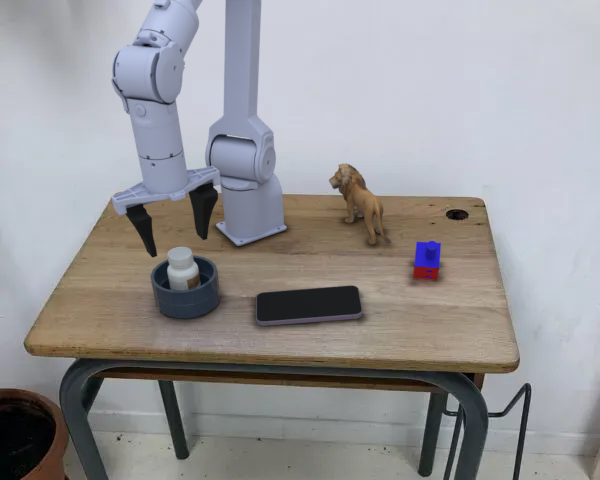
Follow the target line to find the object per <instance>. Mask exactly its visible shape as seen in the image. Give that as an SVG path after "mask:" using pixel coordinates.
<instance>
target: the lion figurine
mask: <svg viewBox="0 0 600 480" xmlns="http://www.w3.org/2000/svg"><path fill="white" fill-rule="evenodd" d="M337 167H338V168H337V171H335V172H334V175H333V176H332V177H330V178H329V179H328V182H329V184H330V185H331V187H332V189H333V190H336V189H338V193H340V194H341V195H342V197H343V200H344V201H345V202H346V210H347V211H346V212H347V214H348V217H346V218H345V219H344V222H345V223H347V224H351V223H353V222H354V220H355V215H354V208H355V207H356V209H357V210H358V211H357V213H356V217H357V218H363V219H364V223H365V226H366V228H367V231H368V233H369V236H370V238H369V239H368V245H370V246H372V245H376V243H377V236H376V233H378V234H380V236H381V238H382V239H383V241H384V243H386V244H388V245H390V244H392V240H391V239H389V237H387V236H386V234H384V229H383V228H384V226H383V218H384V217H383V215H384V204H383V203H382V200H381V198H380V197H379V196H378V195H375V194H373V192H371V191H370V190H369V189H368V187H367V183H366V180H365V179H364V177H363V174H361V173H360V171H359V170H358V169H357V168H356V167H354V166H353V165H351V164H349V163H347V162H346V163H340V164H338V166H337ZM374 217H375V218H376V222H377V227H376V228H375V230H374V225H373V224H374V223H373V221H374Z"/></svg>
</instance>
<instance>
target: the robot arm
mask: <svg viewBox="0 0 600 480" xmlns="http://www.w3.org/2000/svg"><path fill="white" fill-rule="evenodd" d="M203 1H204V0H154V1H153V3H152V5H151V7H150V9H149V11H148V13H147V14H146V16H145V18H144V20H143V22H142V23H141V26H140V28H139V30H138V33H137V34H136V36H135V38H134V39H133V42H132V43H131V44H126V45H124V46H123V47H122V48H121V49H119V50H118V51H116V53H115V55H114V57H113V60H112V66H111V74H112V78H111V79H110V82H111V85H112V88H113V90H114V92H115V93H116V95H117V96H118V97H119V98H120V99H121V102H122V107H123V111H124V112H125V113H126V114H128V115H129V117H130V122H131V127H132V134H133V138H134V143H135V147H136V152H137V158H138V161H139V167H140V172H141V177H142V181H140V182H138V183H136V184H134V185H133V186H131V187H128V188H127V189H125V190H123V191H121V192H117V193H116V194H112V195H110V198H111V202H112V206H113V210H114V211H115V212H116V214H118V216H124V215H125V216H126V218H127V219H128V220H129V221H130V223H131V224H132V225H133V227H134V229H135V230H136V231H137V233H138V234H139V237H140V239H141V240H142V242H143V245H144V247H145V250H146V253H148V254H149V256H150V257H151V258H156V257H158V251H157V246H156V243H155V239H154V231H153V217H151V215H150V214H149V213H148V212H147V211H148V210H147V208H145V206H148V205H150V204H153V203H157V202H160V201H167V200H170V201H171V202H177V201H181V200H183V199H186V198H187V194H188V196H189V200H190V204H191V208H192V213H193V221H194V229H195V231H196V232H195V233H196V235H197V236H198V237H199V238H200V239H201V240H202V241H206V240H208V238H209V237H208V236H209V235H208V234H209V227H210V222H211V217H212V214H213V211H214V208H215V206H216V204H217V202H218V200H219V191H218V190H217V189H216V188H215V187H216V186H219V185H220V192H221V201H222V210H223V217H224V218H223V219H224V220H223V221H220V222H218V223H216V224H215V226H216V228H217V229H218V230H219V231H220V232H221V233H222V234H223V235H224V236H225V237H227V239H228V240H230V241H231V243H233V244H234V245H235V246H236V247H240V246H244V245H247V244H250V243H253V242H256V241H258V240H261V239H263V238H267V237H269V236H270V237H271V236H272V235H276V234H278V233H281V232H284V231H286V230H287V228H288V227H287V225H285V213H284V195H283V189H282V185H281V182H280V180H279V178H278V176H277V175H276V174H275V168H276V163H277V161H276V160H277V155H276V149H275V141H274V140H275V136H274V131H273V130H272V129H271V128H270V127H269V126H268V125H267V124H266V123H265V122H264V121H263V120H262V119H261V118H260V117H259V116H258V100H259V97H258V96H259V75H260V74H259V73H260V72H259V71H260V51H261V50H260V48H261V46H260V45H261V21H262V2H263V1H262V0H225V7H224V8H225V10H224V11H225V13H224V14H225V16H224V18H225V19H224V20H225V21H224V62H223V63H224V67H223V69H224V72H223V115H222V116H221V117H219V118H218V119H217V120H216V121H214V122H213V123H212V124H211V125H210V126H209V127H208V137H207V138H208V139H207V143H206V147H205V151H204V160H205V166H206V167H200V168H193V169H187V163H186V155H185V150H184V149H185V148H184V144H183V137H182V132H181V131H182V130H181V126H180V125H181V124H180V117H179V112H178V105H177V98H178V96H179V95H180V94H181V91H182V87H183V74H184V70H185V65H186V62H185V60H184V59H185V57H186V55H187V52H188V51H189V49H190V47H191V45H192V42H193V41H194V38H195V36H196V34H197V32H198V30H199V27H200V19H199V16H198V13H197V11H198V9H199V8H200V6H201V4H202V2H203Z"/></svg>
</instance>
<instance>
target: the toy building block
mask: <svg viewBox="0 0 600 480" xmlns="http://www.w3.org/2000/svg"><path fill="white" fill-rule="evenodd" d="M441 249H442V243H441V242H437V241H435V240H429V241H416V243H415V252H414V265H413V276H412V279H419V280H421V279H422V280H436V281H437V280H438V277H439V271H440V265H441V264H440V262H441Z"/></svg>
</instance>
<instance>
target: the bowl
mask: <svg viewBox="0 0 600 480" xmlns="http://www.w3.org/2000/svg"><path fill="white" fill-rule="evenodd" d="M193 259H194V262H195V263H196V264H197V265H198V269H199V276H200V283H201V286H199V287H196V288H194V289H189V290H183V291H182V290H171V288H170V283H169V278H168V273H167V269H168V266H169V265H170V264H169V262H168V258H167V259H165V260H163V261H162V262H160V263H158V264H157V265H156V266H155V267H154V268H153V269H152V271H151V273H150V276H149V277H150V283H151V287H152V291H153V297H154V301H155V305H156V308H157V309H158V310H159V311H160V313H162V314H163V315H166V316H168V317H172V318H174V319H175V318H176V319H193V318H197V317H201V316H203V315H205V314H208V312H211V311H212V310H214V309H215V308H216V307H217V306H218V304H219V303H220V301H221V296H222V295H221V288H220V280H219V273H218V269H217V265H216V263H214V262H213V261H212V260H211V259H209V258H206V257H205V256H200V255H195V254H193Z"/></svg>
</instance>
